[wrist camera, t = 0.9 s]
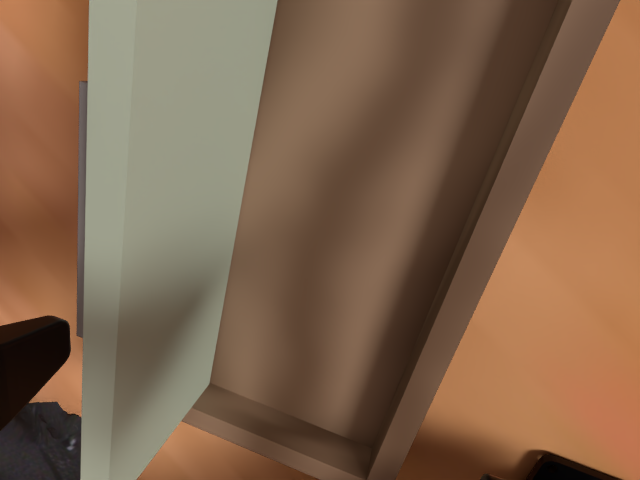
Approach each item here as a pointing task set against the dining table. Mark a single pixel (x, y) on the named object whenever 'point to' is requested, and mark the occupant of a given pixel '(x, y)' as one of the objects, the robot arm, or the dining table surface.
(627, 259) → the dining table surface
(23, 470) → the dark slate chunk
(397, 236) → the brown shallow tray
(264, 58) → the tailgate
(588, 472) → the robot arm
